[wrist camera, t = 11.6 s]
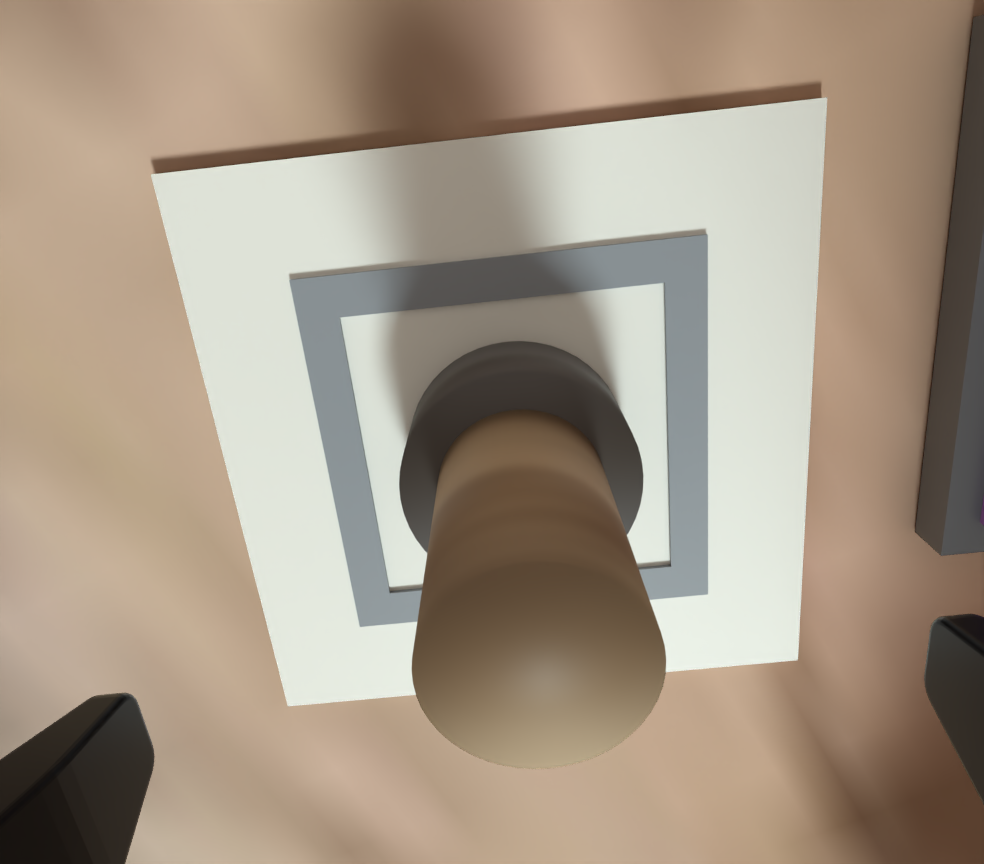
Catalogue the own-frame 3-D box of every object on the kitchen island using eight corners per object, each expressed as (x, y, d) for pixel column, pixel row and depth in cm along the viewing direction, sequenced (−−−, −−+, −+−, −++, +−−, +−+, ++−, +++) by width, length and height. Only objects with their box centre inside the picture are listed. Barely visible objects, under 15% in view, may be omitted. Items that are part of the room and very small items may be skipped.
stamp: (628, 529, 16) (724, 796, 10) (425, 549, 16) (383, 824, 10) (620, 329, 14) (728, 485, 8) (394, 353, 15) (320, 525, 8)
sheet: (794, 654, 18) (799, 662, 17) (290, 700, 18) (287, 709, 18) (822, 97, 13) (829, 97, 13) (155, 174, 14) (148, 174, 13)
